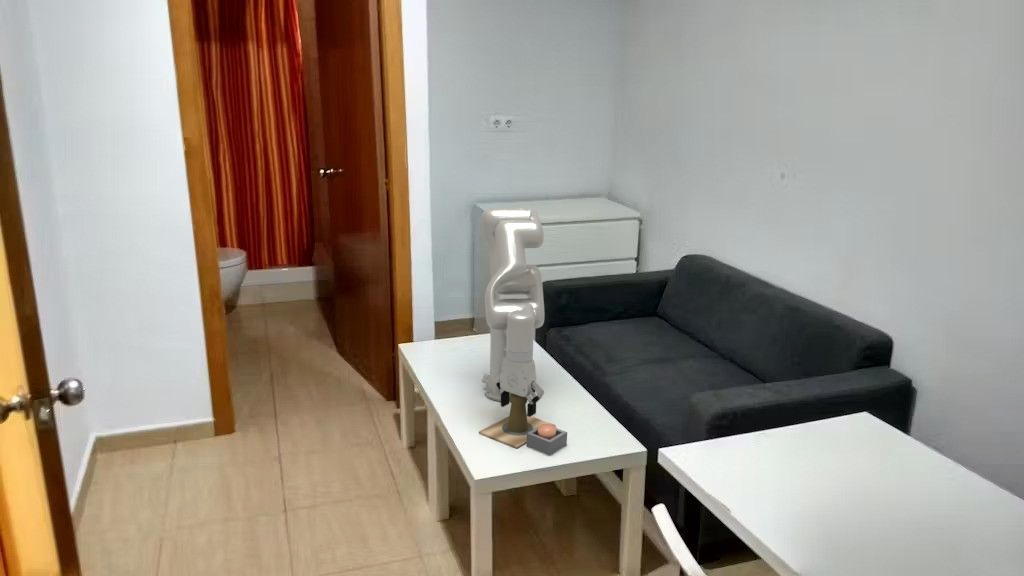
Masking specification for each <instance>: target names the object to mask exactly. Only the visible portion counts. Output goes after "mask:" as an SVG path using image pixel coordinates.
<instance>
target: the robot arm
mask: <svg viewBox="0 0 1024 576" xmlns="http://www.w3.org/2000/svg"><path fill="white" fill-rule="evenodd" d="M480 226H481V232H482V237H483V239H484V242H485V244H486V246H487V250H488V254H489V267H490V268H489V269H490V280H489V282H488V284H487V287H486V290H485V294H484V307H485V308H484V309H485V310H484V311H485V319H486V324H487V326H488V327H489V331H490V333H489V334H490V353H489V355H490V358H489V359H490V362H489V363H490V364H489V365H490V366H489V374H488V373H486V374H484V375H483V378H482V379H481V382H482V383H484V384H486V385H487V387H485V390H484V396H486V397H487V398H488V399H490V400H493V401H496V402H500V407H502V408H503V407H506V406H508V405H510V395H511V393H512V394H515V395H518V396H521V397H526V398H527V403H526V413H527V416H528V417H530V416H532V417H533V416H535V415H536V412H537V402H538V401H540V400H541V399H542V397H543V396H544V394H545V391H544V389H543V388H542V387H541V386H540V385H539V384H538V383H537V370H536V363H535V360H534V358H533V357H534V336H535V335H534V333H535V331H534V330H535V329H539V328H541V327H543V325H544V323H545V302H544V289H543V288H544V287H543V278H542V277H543V276H542V273H541V270H540V268H539V267H538V266H537V265H534V264H527V262H526V261H527V259H526V252H525V251H526V250H525V249H537V248H538V249H539V248H540V247H542V245H543V242H544V227H543V224H542V222H541V220H540V217H539V215H538V213H537V211H536V210H535V209H534V208H532V207H494V208H488V209H486V210H484V211H483V212H482V214H481V217H480ZM495 294H496V295H500V296H526V298H525V297H524V298H517V297H516V298H515V297H514V298H499V299H495V298H496V297H495V296H496V295H495Z"/></svg>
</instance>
